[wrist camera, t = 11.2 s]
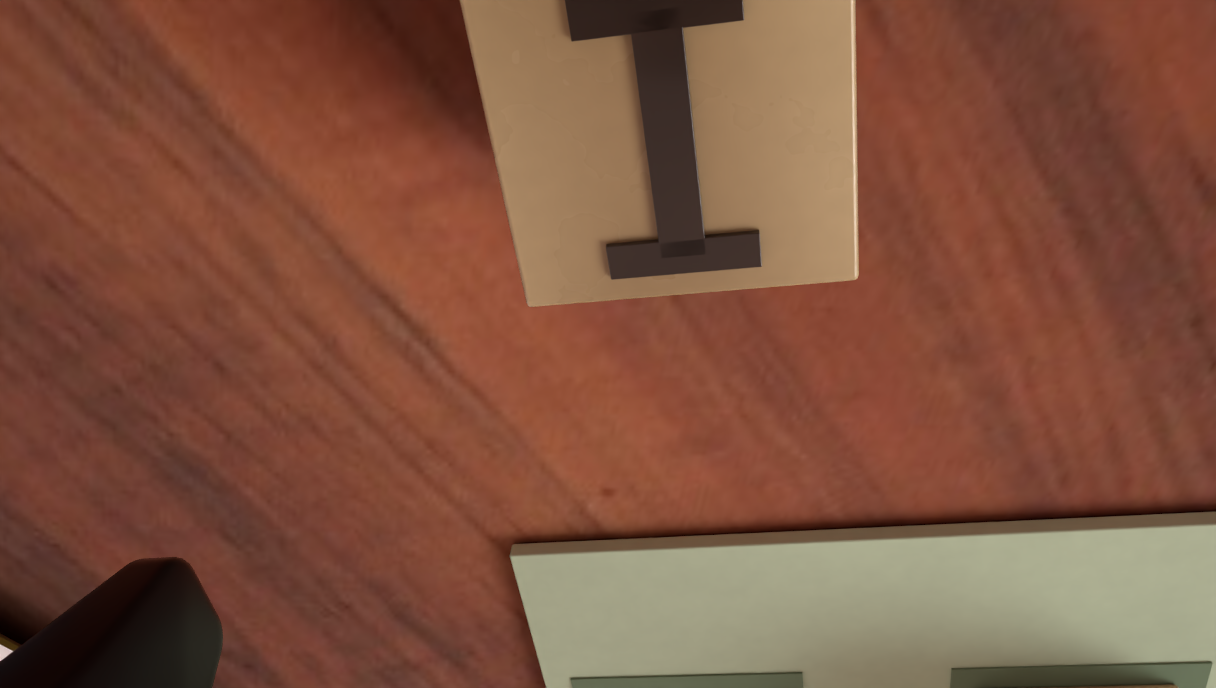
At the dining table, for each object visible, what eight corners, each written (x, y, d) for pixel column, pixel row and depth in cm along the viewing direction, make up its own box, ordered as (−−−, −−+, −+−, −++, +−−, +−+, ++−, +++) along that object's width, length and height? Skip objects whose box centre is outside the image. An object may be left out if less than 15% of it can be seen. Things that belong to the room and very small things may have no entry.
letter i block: (817, -142, 14) (856, -79, 11) (826, 148, 17) (860, 285, 13) (515, -98, 15) (450, -24, 11) (565, 175, 18) (525, 312, 14)
